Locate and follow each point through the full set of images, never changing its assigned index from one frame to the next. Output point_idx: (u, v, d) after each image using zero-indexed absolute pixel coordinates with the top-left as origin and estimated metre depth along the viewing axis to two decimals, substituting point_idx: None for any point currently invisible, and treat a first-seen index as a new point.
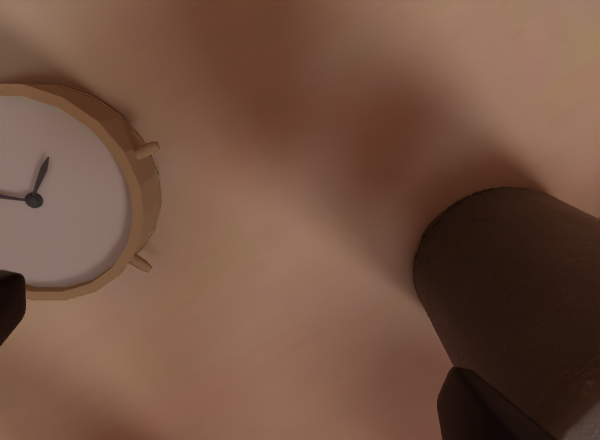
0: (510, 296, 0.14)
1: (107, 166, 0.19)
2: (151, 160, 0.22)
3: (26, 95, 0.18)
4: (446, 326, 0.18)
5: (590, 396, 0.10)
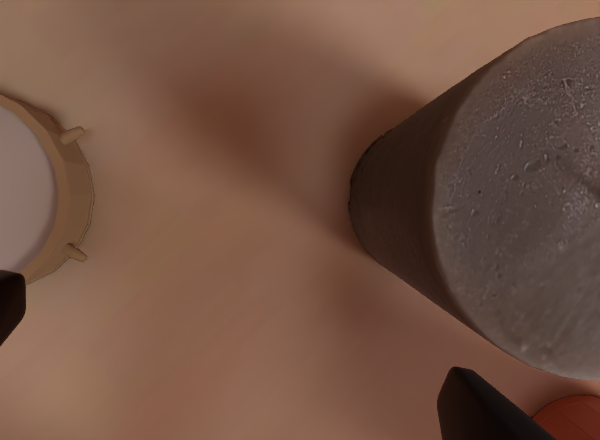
0: (400, 141, 0.15)
1: (32, 149, 0.20)
2: (80, 152, 0.23)
3: None
4: (371, 223, 0.17)
5: (445, 125, 0.10)
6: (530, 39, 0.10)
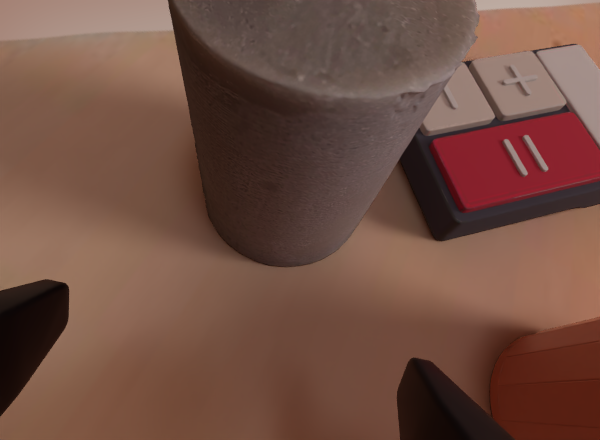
0: None
1: None
2: None
3: None
4: (204, 168, 0.17)
5: None
6: None
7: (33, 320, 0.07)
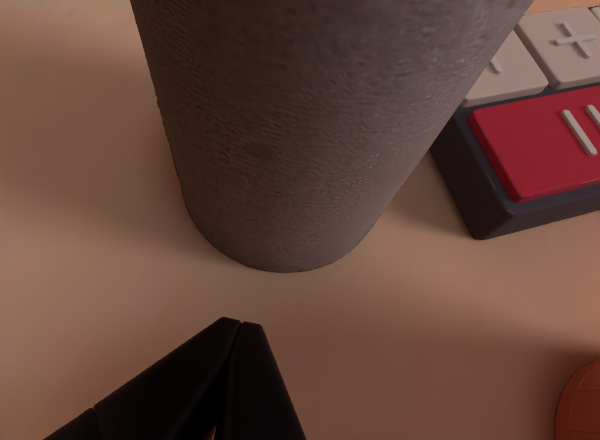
0: None
1: None
2: None
3: None
4: (170, 135, 0.12)
5: None
6: None
7: None
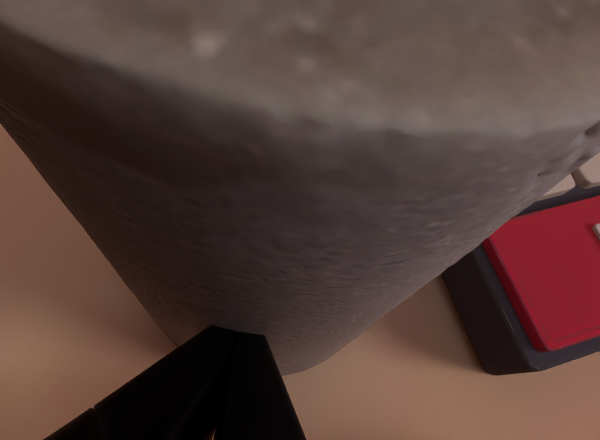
0: None
1: None
2: None
3: None
4: None
5: None
6: None
7: None
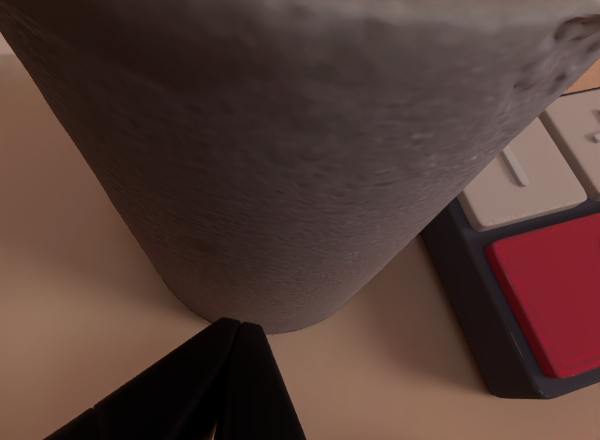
0: None
1: None
2: None
3: None
4: None
5: None
6: None
7: None
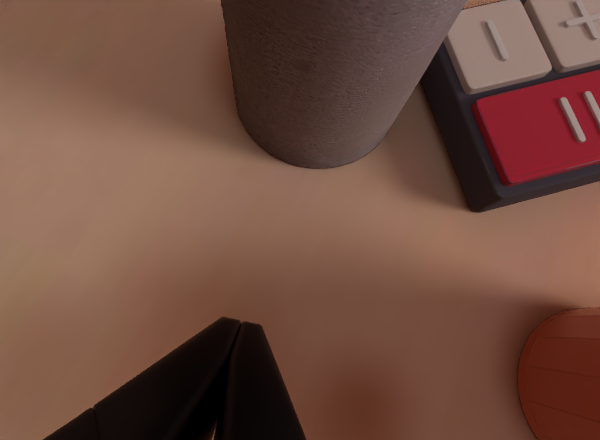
0: None
1: None
2: None
3: None
4: (234, 54, 0.16)
5: None
6: None
7: None
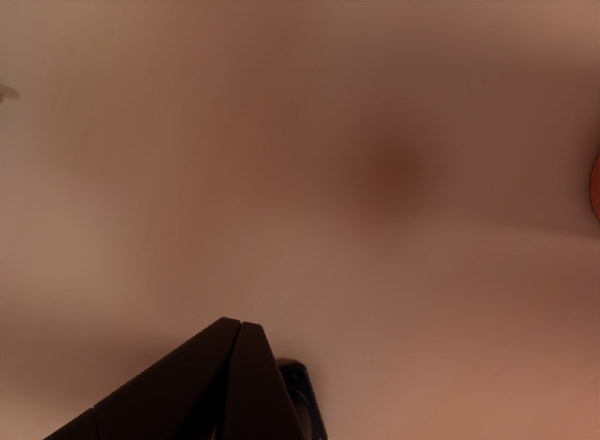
0: None
1: None
2: None
3: None
4: None
5: None
6: None
7: None
